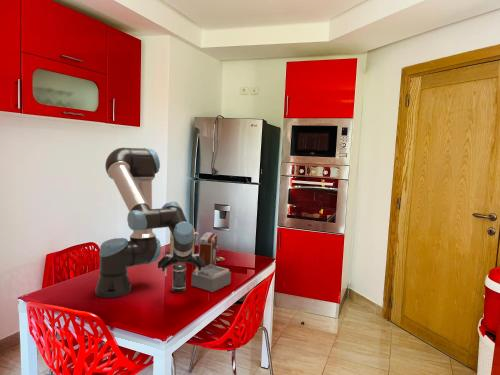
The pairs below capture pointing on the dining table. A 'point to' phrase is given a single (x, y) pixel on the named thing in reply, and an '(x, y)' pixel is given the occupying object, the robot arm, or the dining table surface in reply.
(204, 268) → the square picture frame
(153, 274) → the dining table surface
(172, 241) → the gift box
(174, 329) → the dining table surface
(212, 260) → the cine camera
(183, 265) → the lens
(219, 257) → the pastry
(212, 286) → the square shallow tray
